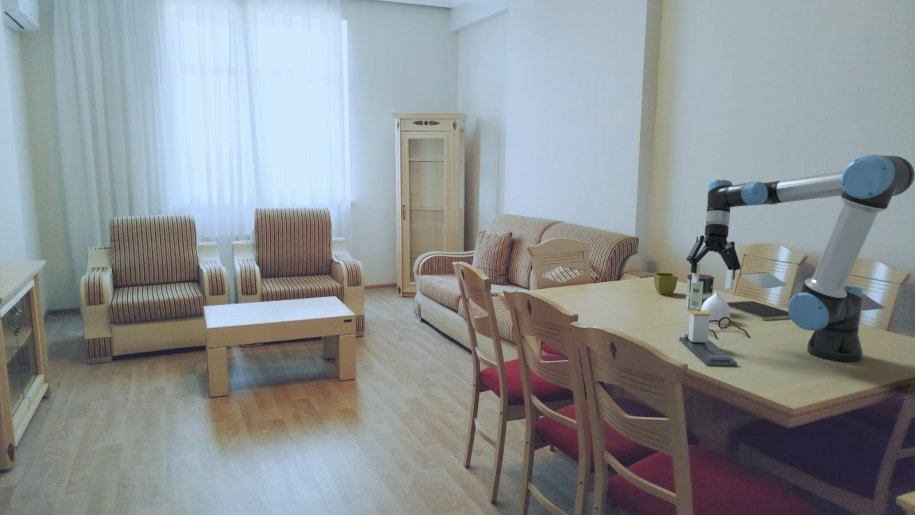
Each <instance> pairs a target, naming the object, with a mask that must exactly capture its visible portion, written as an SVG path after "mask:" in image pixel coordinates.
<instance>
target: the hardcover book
mask: <svg viewBox="0 0 915 515" xmlns="http://www.w3.org/2000/svg"><path fill="white" fill-rule="evenodd" d="M726 302H727V301H726ZM727 304H728V305H729V308H730V310H731V309H732V310H731V311H734V310H735V311H734V312H737V311H738V313H739V314H743V315H746V316H748V315H750V316H749V317H751V316H753V317H752V318H754V317H755V319H757V318H758V319H757V320H760V319H761V320H760V321H773V320H785V319H791V317H790V315H789V313H788V310H783V309H780V308H778V307H774V306H771V305H767V304H765V303H761V302H758V301H755V300H747V301H732V302H731V301H730V302H727Z"/></svg>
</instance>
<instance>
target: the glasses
mask: <svg viewBox="0 0 915 515" xmlns="http://www.w3.org/2000/svg"><path fill="white" fill-rule="evenodd" d="M723 319H728V320H729V323H728V324H726V326H721V324H720V322H721V321H722V320H723ZM710 322H718V324H717V326H718V328H720V329H721V328H725V329H728V328H729V327H730V326H731V324H732V325H733V326H734V327H735V328H736V329H738V330H741V331H742V332H744V333H745V335H746V337H747V338H748V339H751V338H752V337H751V336H750V334H749V333H748V332H747V330H746V329H744V328H741V327H740V326H739V325H738V324H736V323H734V322H733V321H732V320H731V317H730V318H728V317H723V318H721V319H720V320H709V325H710V324H711V323H710ZM708 332H711V333H713V336H714V338H715V339H716V340H719V338H718V336H717V334H716V332H715V331H714V330H713V329H710V328H709V331H708Z"/></svg>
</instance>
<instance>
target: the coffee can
mask: <svg viewBox="0 0 915 515" xmlns="http://www.w3.org/2000/svg"><path fill="white" fill-rule="evenodd" d="M686 276H687V277H686V278H687V279H686V280H687V282H686V294H685V295H686V296H685V310H686V309H687V310H686V311H689V312H690V311H701V308H702V305H703V303H704V302H705V301H706V300H707V299H708V298H709V297H711V296H713V295H714V294H713V290H714V279H715V277H714V276H712V275H710V274H708V275H707V274H701V273H699V283H692V273H691V274H687V275H686Z"/></svg>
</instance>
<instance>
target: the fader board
mask: <svg viewBox="0 0 915 515" xmlns="http://www.w3.org/2000/svg"><path fill="white" fill-rule="evenodd" d="M688 337H689V333H688V334H687V333H686V334H684V336H680V337H679V339H678V341H679V342H680V341H681V342H682V343H681V342H680V343H681V344H683V346H685V347H686V348H687V349H688V350H689V351H690V352H691V354H693V355H695V356H696V357H697V358H698V359H699V360H700V361H701V362H702V363H703V364H704V365H705V366H708V367H710V366H711V367H712V366H714V367H737V365H738V362H737V361H736V360H735V359H734V358H732V357H731V356H730V355H729V354H727V353H726V352H725V351H724V350H722V349H721V348H720V347H719V346H717V345H716V344H715V343H713V342H712V341H711V340H710V339H708V342H692V341H691V340H689V339H688Z"/></svg>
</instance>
